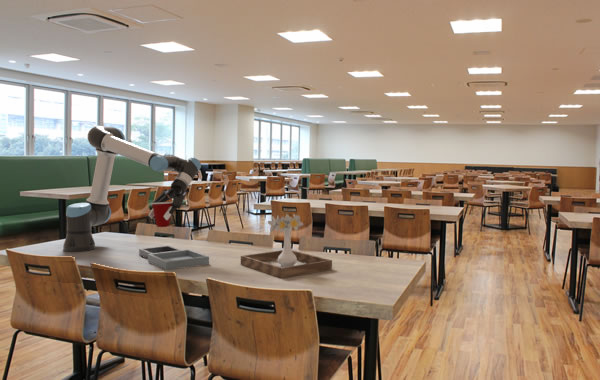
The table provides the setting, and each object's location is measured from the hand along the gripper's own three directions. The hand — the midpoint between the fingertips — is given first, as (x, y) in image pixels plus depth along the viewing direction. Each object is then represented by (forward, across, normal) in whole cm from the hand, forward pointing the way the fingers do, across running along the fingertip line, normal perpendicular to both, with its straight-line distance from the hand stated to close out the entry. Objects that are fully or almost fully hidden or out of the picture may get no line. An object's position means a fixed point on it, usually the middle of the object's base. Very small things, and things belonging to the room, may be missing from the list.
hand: (157, 217), depth 236 cm
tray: (+16, -17, -11) cm, 26 cm away
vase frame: (+2, -62, -26) cm, 67 cm away
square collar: (+11, +2, -16) cm, 20 cm away
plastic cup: (+1, 0, -6) cm, 6 cm away
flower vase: (+2, -62, -26) cm, 67 cm away
